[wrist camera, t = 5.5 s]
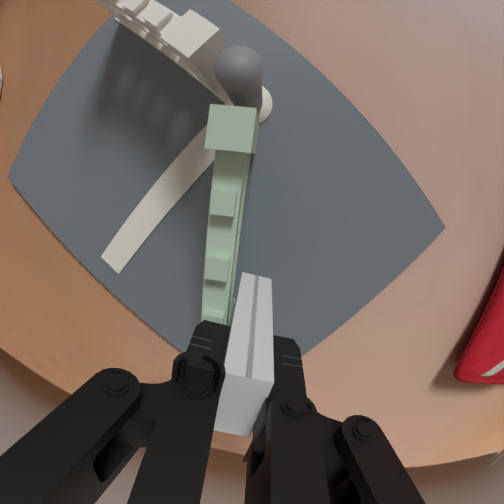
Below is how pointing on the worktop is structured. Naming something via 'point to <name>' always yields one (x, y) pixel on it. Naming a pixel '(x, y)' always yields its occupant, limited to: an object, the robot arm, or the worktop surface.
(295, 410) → the robot arm
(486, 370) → the dish drying mat
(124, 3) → the fixed fence panel
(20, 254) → the worktop surface
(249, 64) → the hinged fence panel
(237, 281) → the card
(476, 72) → the worktop surface
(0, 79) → the white cup
